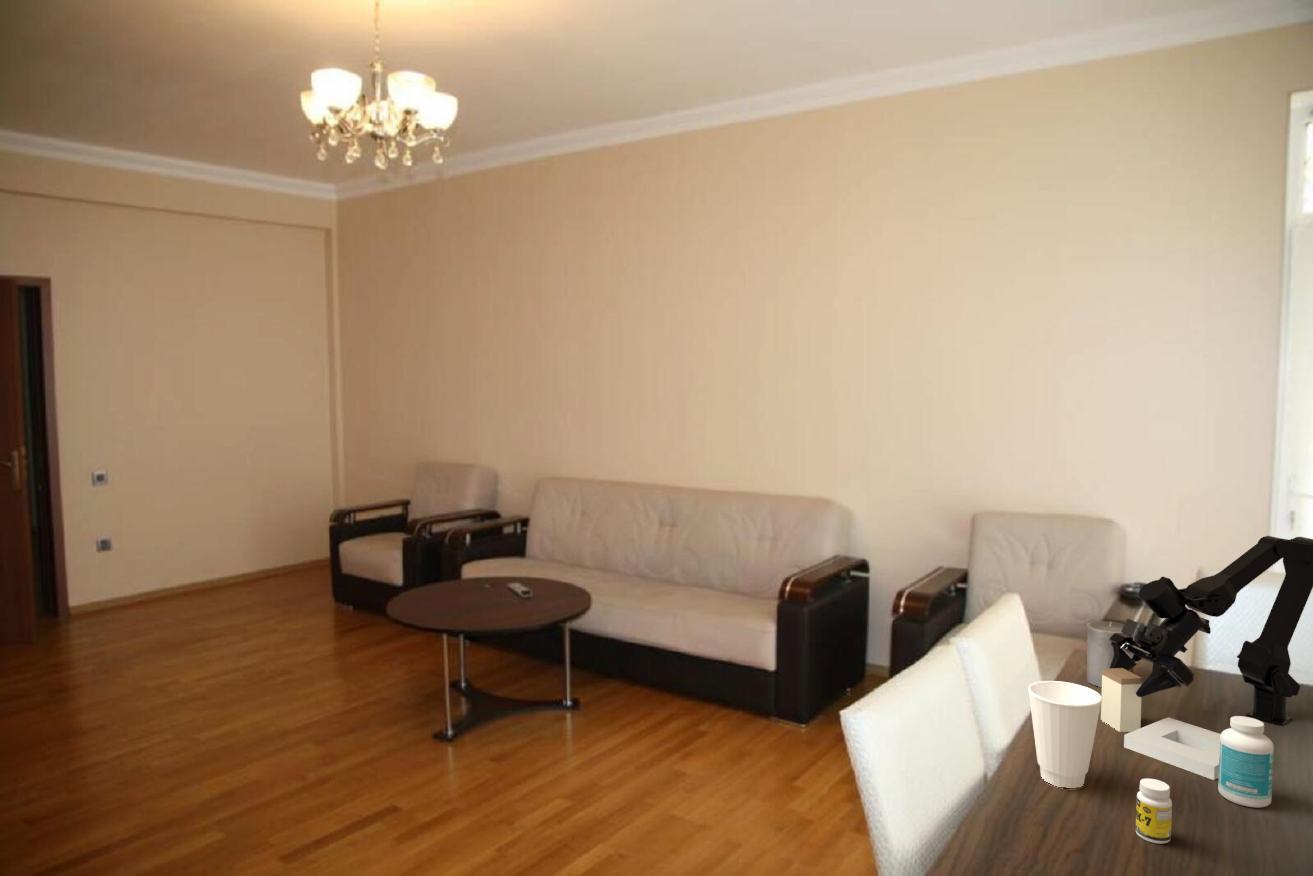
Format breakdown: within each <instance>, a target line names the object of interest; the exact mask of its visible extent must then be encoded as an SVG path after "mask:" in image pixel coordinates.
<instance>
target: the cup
mask: <svg viewBox="0 0 1313 876" xmlns="http://www.w3.org/2000/svg"><path fill="white" fill-rule="evenodd" d="M1027 692H1028V695H1029V696H1028V697H1029V703H1030V711H1031V719H1032V720H1031V721H1032V729H1033V735H1034V744H1035V752H1036V753H1035V754H1036V760H1037V761H1036V762H1037V764H1038V766H1039V771H1040V777H1042V778H1041V780H1042V779H1044V781H1046V782H1048V783H1050V784H1052V785H1054V786H1053V787H1055V786H1057V787H1056V788H1058V787H1066V788H1076V787H1081V786H1083V787H1084V785H1085V779H1086V774H1087V773H1088V772H1089V768H1090V762H1091V757H1092V753H1093V747H1094V742H1095V739H1096V733H1097V731H1096V730H1097V726H1098V721H1099V717H1100V713H1101V702H1102V697H1101V695H1102V694H1101V693H1099V692H1097V691H1096V690H1094V689H1092V688H1090V687H1087V686H1083V685H1081V684H1076V683H1073V682H1067V681H1058V680H1041V681H1035V682H1033V683H1031V684H1029V686H1028V687H1027ZM1044 781H1043V782H1044ZM1046 782H1045V783H1046ZM1048 783H1047V784H1048ZM1050 784H1049V785H1050ZM1083 784H1084V785H1083ZM1052 785H1051V786H1052ZM1081 788H1082V787H1081Z"/></svg>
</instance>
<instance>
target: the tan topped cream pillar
mask: <svg viewBox="0 0 1313 876" xmlns="http://www.w3.org/2000/svg"><path fill="white" fill-rule="evenodd" d="M1142 684H1143V677H1141V676H1140V675H1137V674H1136V673H1134V672H1133V673H1131V672H1129V671H1127V670H1125V669H1123V668H1111V669H1102V688H1101V694H1100V695H1101V697H1102V702H1101V707H1100V721H1101V720H1102V721H1101V722H1103V723H1104V722H1105V723H1104V724H1106V723H1107V724H1106V725H1108V724H1109V725H1110V727H1111V728H1113V729H1114V728H1115V729H1114V730H1115V731H1117V732H1118V733H1127V732H1128V733H1130V732H1132V731H1135V730H1137V729H1140V728H1142V727H1141V725H1142V723H1141V721H1142V697H1138V696H1137V695H1136V692H1137V690H1138V689H1139V687H1140V686H1141V685H1142ZM1109 725H1108V726H1109Z"/></svg>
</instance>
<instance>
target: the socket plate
mask: <svg viewBox="0 0 1313 876" xmlns="http://www.w3.org/2000/svg"><path fill="white" fill-rule="evenodd" d="M1220 735H1221V733H1219V732H1215V731H1213V730H1210V729H1205V728H1203V727H1200V726H1196V725H1193V724H1190V723H1186V722H1185V721H1181V720H1179V719H1178V720H1177V719H1174V718H1171V717H1169V716H1167V717H1165V718H1163V719H1160V720H1158V721H1155V722H1153V723H1150V724H1147V725H1145V726H1143V727H1140V729H1137V730H1135V731H1130V732H1128V733H1127V732H1126V733H1125V734H1124V736H1123V747H1124V748H1125V749H1128V750H1131V751H1133V752H1135V753H1139V754H1141V755H1144V756H1146V757H1150V758H1152V759H1155V760H1158V761H1160V762H1163V763H1166V764H1168V765H1172V766H1174V767H1177V768H1180V769H1182V770H1185V771H1188V772H1191V773H1193V774H1196V775H1198V776H1201V777H1204V778H1207V779H1208V780H1209V779H1210V780H1212V781H1215V780H1218V779H1219V755H1220Z"/></svg>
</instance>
